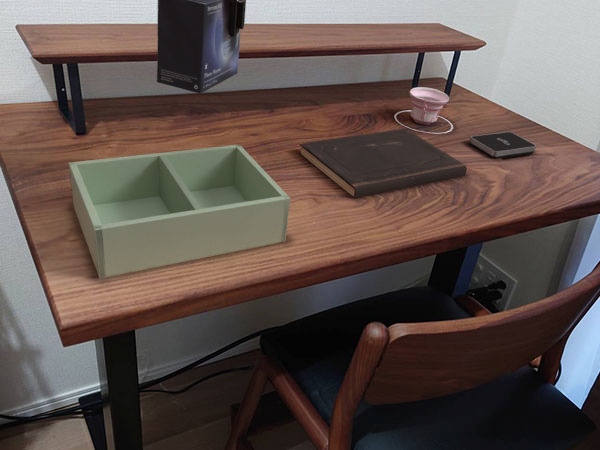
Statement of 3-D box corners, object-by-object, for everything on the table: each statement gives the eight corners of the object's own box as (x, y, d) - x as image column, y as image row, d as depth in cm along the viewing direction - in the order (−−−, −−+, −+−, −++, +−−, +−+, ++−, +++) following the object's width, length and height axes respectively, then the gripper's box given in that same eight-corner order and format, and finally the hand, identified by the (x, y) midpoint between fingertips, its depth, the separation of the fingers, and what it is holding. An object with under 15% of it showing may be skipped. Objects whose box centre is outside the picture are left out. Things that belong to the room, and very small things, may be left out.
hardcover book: (298, 155, 92) (299, 143, 91) (403, 140, 103) (405, 128, 102) (353, 202, 81) (356, 188, 80) (464, 178, 92) (468, 166, 91)
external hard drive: (534, 155, 104) (537, 146, 103) (491, 162, 99) (495, 152, 98) (507, 140, 109) (510, 131, 108) (465, 146, 104) (468, 136, 103)
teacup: (398, 108, 118) (404, 80, 115) (454, 121, 116) (463, 92, 112) (388, 127, 108) (395, 96, 105) (450, 141, 106) (458, 110, 102)
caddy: (99, 282, 59) (94, 229, 56) (73, 210, 71) (68, 162, 67) (284, 244, 70) (290, 198, 66) (236, 186, 81) (239, 144, 77)
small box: (203, 96, 65) (206, 2, 60) (154, 83, 67) (153, -9, 61) (240, 74, 74) (246, -10, 68) (196, 63, 75) (199, -20, 70)
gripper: (293, -133, 60) (277, 33, 70) (137, -156, 61) (141, 12, 70) (285, -135, 54) (268, 48, 64) (111, -161, 54) (119, 24, 64)
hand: (201, 28), depth 67 cm, fingers closed on small box, 7 cm apart
